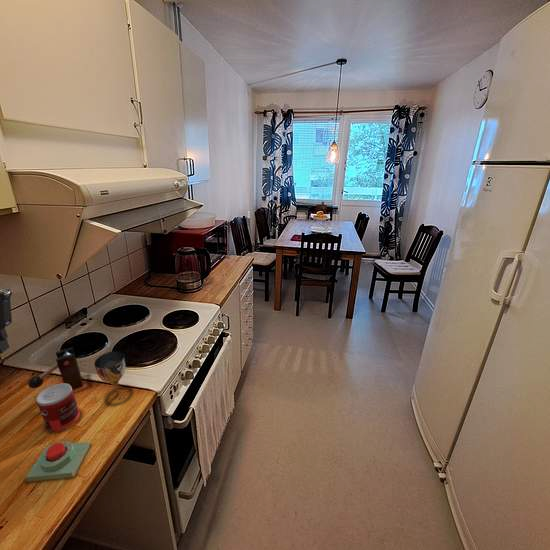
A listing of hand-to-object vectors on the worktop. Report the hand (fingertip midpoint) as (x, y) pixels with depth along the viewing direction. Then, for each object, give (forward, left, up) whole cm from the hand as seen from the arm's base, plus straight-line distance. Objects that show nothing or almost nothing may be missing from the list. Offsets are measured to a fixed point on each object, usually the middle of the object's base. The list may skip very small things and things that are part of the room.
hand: (2, 350), depth 74 cm
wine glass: (+22, +6, -25) cm, 34 cm away
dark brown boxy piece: (+6, +12, -24) cm, 28 cm away
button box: (+16, -15, -24) cm, 33 cm away
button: (+16, -15, -21) cm, 30 cm away
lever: (+3, +10, -17) cm, 20 cm away
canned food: (+10, -2, -25) cm, 27 cm away
